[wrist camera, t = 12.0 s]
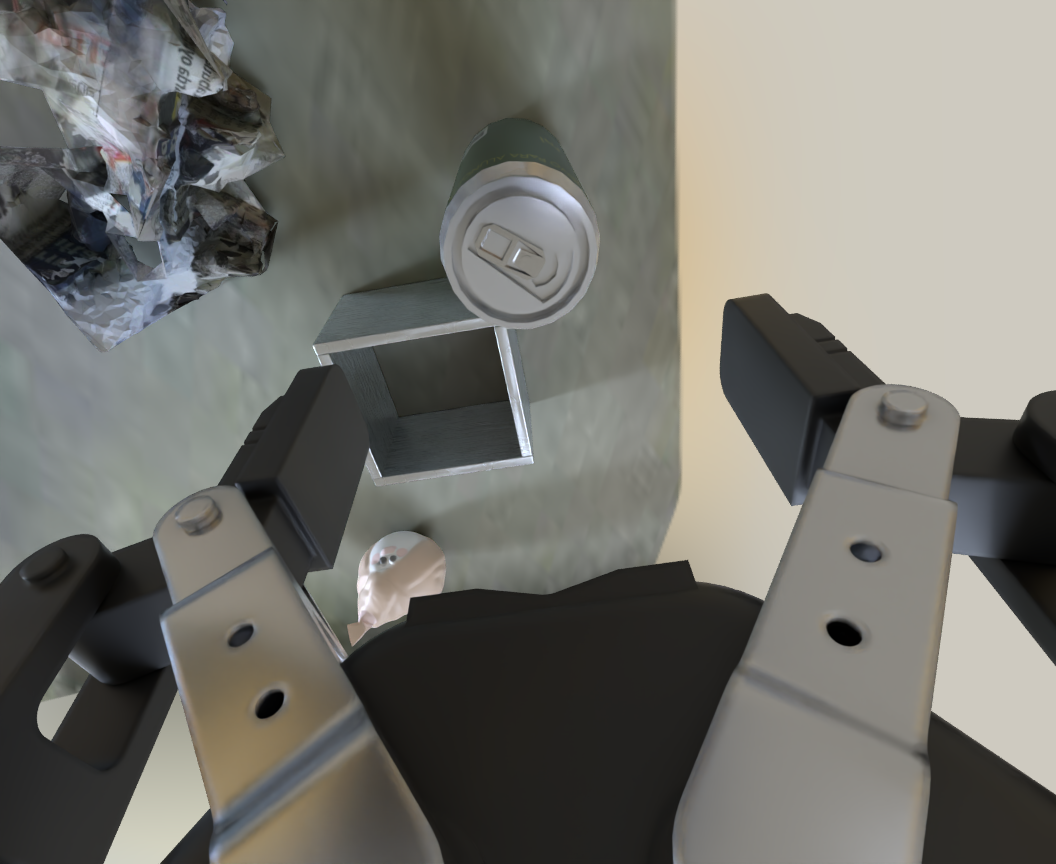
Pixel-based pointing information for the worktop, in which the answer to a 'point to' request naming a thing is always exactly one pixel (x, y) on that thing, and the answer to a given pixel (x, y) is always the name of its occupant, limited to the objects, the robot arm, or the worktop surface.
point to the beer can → (518, 228)
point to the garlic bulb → (396, 578)
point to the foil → (133, 158)
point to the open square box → (436, 436)
